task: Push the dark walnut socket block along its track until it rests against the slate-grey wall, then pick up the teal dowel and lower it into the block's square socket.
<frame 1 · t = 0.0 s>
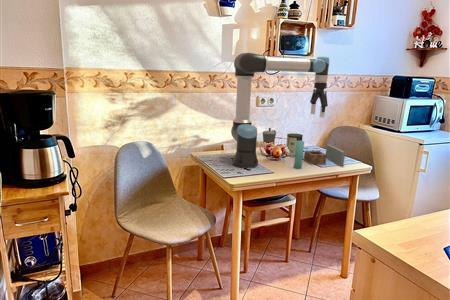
hand: (317, 115, 214), 28 cm above the table, tool pointing down, fingers open, 13 cm apart
socket block: (315, 157, 210), point 3 cm above the table, slide at 7.0 cm
wall: (333, 161, 213), on the table
coffeepot: (268, 154, 226), on the table
dowel: (297, 167, 197), on the table
coffee can: (293, 155, 225), on the table
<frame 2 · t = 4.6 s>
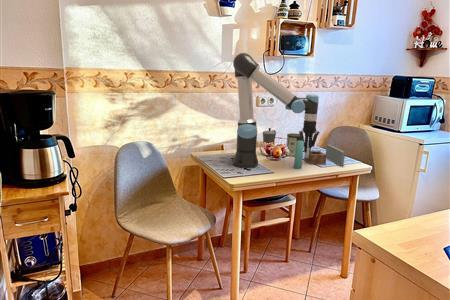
hand: (306, 157, 209), 3 cm above the table, tool pointing down, fingers closed
socket block: (315, 157, 210), point 3 cm above the table, slide at 6.9 cm, touching gripper
everything else where it was.
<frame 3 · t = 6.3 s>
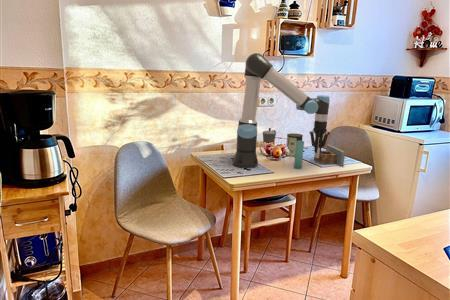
hand: (316, 157, 210), 3 cm above the table, tool pointing down, fingers closed
socket block: (325, 157, 211), point 3 cm above the table, slide at 0.0 cm, touching gripper
everything else where it was.
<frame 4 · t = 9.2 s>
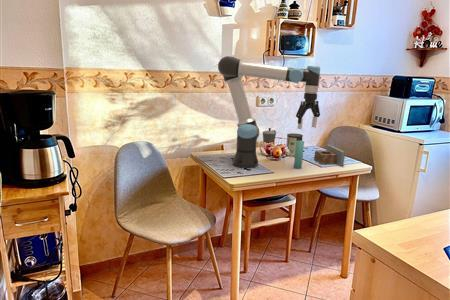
hand: (306, 128, 201), 22 cm above the table, tool pointing down, fingers open, 13 cm apart
socket block: (325, 157, 211), point 3 cm above the table, slide at 0.0 cm
everything else where it was.
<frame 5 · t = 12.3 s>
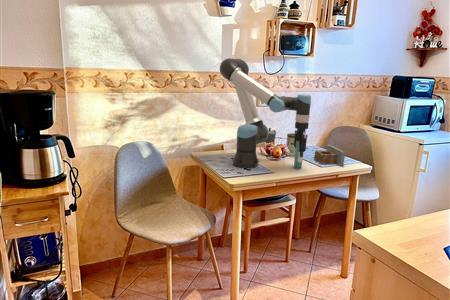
hand: (298, 160, 196), 4 cm above the table, tool pointing down, fingers closed on dowel, 4 cm apart
dowel: (297, 167, 197), on the table, touching gripper
everything else where it was.
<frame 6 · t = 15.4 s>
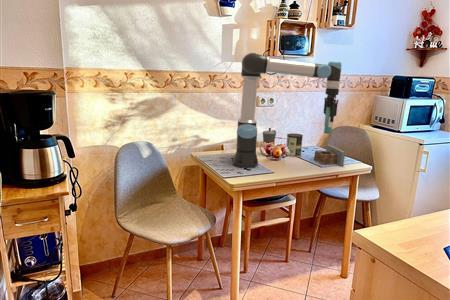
hand: (328, 126, 205), 23 cm above the table, tool pointing down, fingers closed on dowel, 4 cm apart
dowel: (327, 133, 207), point 19 cm above the table, touching gripper
everything else where it was.
when the fingers open (7 cm above the table, at t = 18.8 s): dowel drops 1 cm, resting on socket block.
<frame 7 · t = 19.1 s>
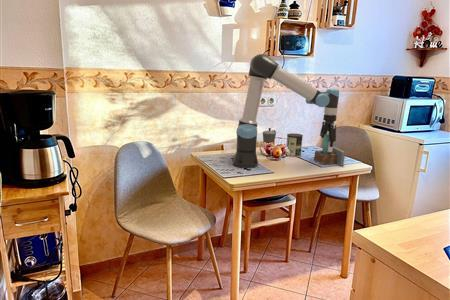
hand: (326, 149, 210), 8 cm above the table, tool pointing down, fingers open, 9 cm apart
socket block: (325, 157, 211), point 3 cm above the table, slide at 0.0 cm, touching dowel
dowel: (325, 159, 211), point 2 cm above the table, touching socket block
everything else where it was.
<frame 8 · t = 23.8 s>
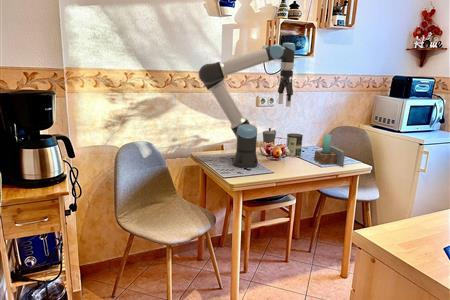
hand: (284, 105, 205), 35 cm above the table, tool pointing down, fingers open, 13 cm apart
nothing on the table moved.
at the end: socket block slide at 0.0 cm; dowel 0.0 cm off-centre on the socket block, point 1.5 cm above the socket block's base; dowel tilted 1° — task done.
